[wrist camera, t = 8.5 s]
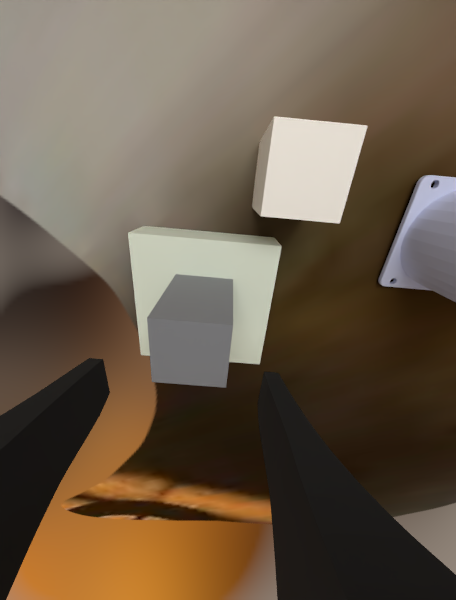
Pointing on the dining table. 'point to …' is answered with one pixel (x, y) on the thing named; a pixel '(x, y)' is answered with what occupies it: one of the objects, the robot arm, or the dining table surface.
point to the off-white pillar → (306, 169)
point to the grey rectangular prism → (192, 331)
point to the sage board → (208, 263)
